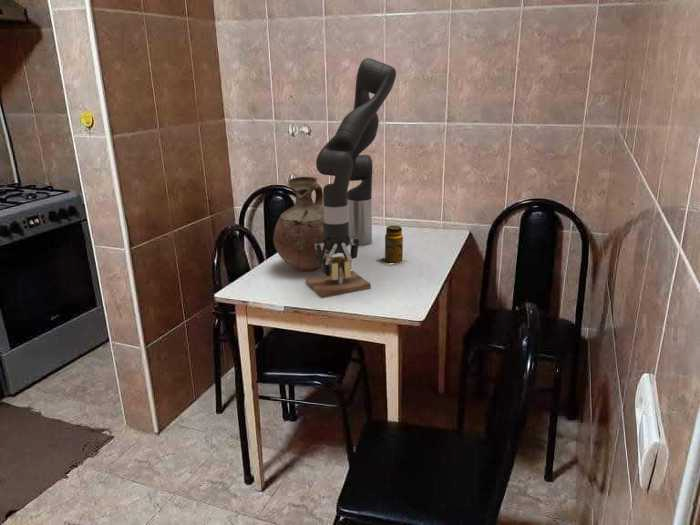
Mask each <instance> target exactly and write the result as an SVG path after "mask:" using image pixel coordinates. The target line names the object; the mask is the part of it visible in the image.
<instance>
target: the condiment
mask: <svg viewBox="0 0 700 525" xmlns="http://www.w3.org/2000/svg"><path fill="white" fill-rule="evenodd" d="M385 230H386V231H385V236H384V257H382V258H377V259H376V261H377V262H378V263H381V264H383V265H386V266H387V267H389V266H392V265H393V266H394V265H397V264H396V263H398V264H401V263H406V262H408V260H406V259H405V258H404V259H403V257H404V256H403V253H404V252H403V247H404V245H403V243H404V241H403V240H404V236H403V234H402V233H403V229H402V226H399V225H388V226H387V227H386V229H385ZM403 261H404V262H403ZM400 262H401V263H400ZM390 263H394V264H390Z"/></svg>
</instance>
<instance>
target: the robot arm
mask: <svg viewBox="0 0 700 525" xmlns="http://www.w3.org/2000/svg"><path fill="white" fill-rule="evenodd" d="M396 75H397V71H396V68H395V67H393V66H391V65H390V64H387V63H385V62H381V61H380V60H377V59H374V58H370V57H366V58H364V59H362V60H361V62H360V64H359V67H358V70H357V74H356V79H355V80H356V81H355V89H354V90H355V92H354V102H353V110H351V111H349V112H348V113H347V114H346V115H345V117H343V119H342V121H341V122H340V125H339V126H338V128H337V130H336V132H335V134H334V136H332V137H331V139H330V140H328V142H327V143H326V144H325V145H324V146H323V147H322V148H321V150H320V151H319V153H318V154H317V157H316V161H315V166H316V170H317V171H318V172H319V174H321V175H324V176H333V177H334V180H333V182H332V183H328V184H325V185H324V186H323V187H322V192H323V229H324V240H323V242H321V243H318V244H317V243H315V244H314V248H315V253H316V259H317V261H318V262H319V263H320V264H323V265H322V272H323V273H324V276H325V275H326V276H330V269H329V262H330V260H331V258H332V257H334V255H337V254H342V256H343V257H345V258H346V259H348V260H349V261H350V264H351V265H352V260H353V259H357V258H358V252H359V246H367V245H370V244H372V242H373V239H372V238H373V237H372V236H373V235H372V232H373V217H372V213H373V212H372V211H373V210H372V209H373V204H372V202H373V200H372V193H373V192H372V191H373V188H372V186H373V185H372V184H373V169H374V168H373V159H372V157H371V155H368V154H361V153H362V152H364V151H365V150H366V149H367V148H368V147H369V146H370V145H371V144H373V142H374V140H375V139H376V136H377V133H378V128H379V125H380V124H379V122H380V121H379V116H378V111H379V109H381V106H382V105H383V103H384V102H385V101H386V99H387V98H388V96H389V94H390V92H391V91H392V89H393V87H394V84H395V81H396V79H397V78H396V77H397V76H396ZM370 94H372V95H373V96H372V97H370ZM355 181H357V182H358V181H361V182H360V183H359V184H358V185H357V186H355V187H353V188H350V189H349V185H350V182H355ZM348 189H349V190H348ZM349 245H350V251H349V249H348V246H349ZM323 246H325V248H326V251H325V253H324V258H323V256H322V251H321V250H323ZM329 252H330V253H329ZM333 254H334V255H333Z"/></svg>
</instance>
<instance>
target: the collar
mask: <svg viewBox="0 0 700 525" xmlns="http://www.w3.org/2000/svg"><path fill="white" fill-rule="evenodd" d="M338 264H341V265H342V267H343V274H344V278H348V277H351V271H352V263H351V264H350V261H349V260H348V259H346V258H345V257H344V255H338V256H333V257H332V258H331V260H330V262H329V269H330V276H328V277H329V278H330V279H331V280H337V279H338Z"/></svg>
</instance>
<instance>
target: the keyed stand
mask: <svg viewBox="0 0 700 525" xmlns="http://www.w3.org/2000/svg"><path fill="white" fill-rule="evenodd" d="M305 284H306V285H307V286H308V287H309V288H310V289H311V290H312V291H313V292H314V293H315V294H317V295H318V296H319V297H320V298H321V299H324V298H329V297H333V296H338V295H344V293H345V294H348V293H349V292H350V293H355V292H359V290H360V291H364V289H365V290H370V289H371V288H372V285H371V283H370V282H369V281H367V280H366V279H365V278H363V277H362V276H360V275H359V274H358V273H356V272H355V271H354V270H351V277H348V278H344V274H343V267H342V265H341V264H338V279H337V280H331V279H330V278H329V277H328V276H326V275H325V274H324V275H321V276H320V275H319V276H316V277H311V278H310V277H309V278H305ZM354 291H355V292H354ZM350 293H349V294H350Z"/></svg>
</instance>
